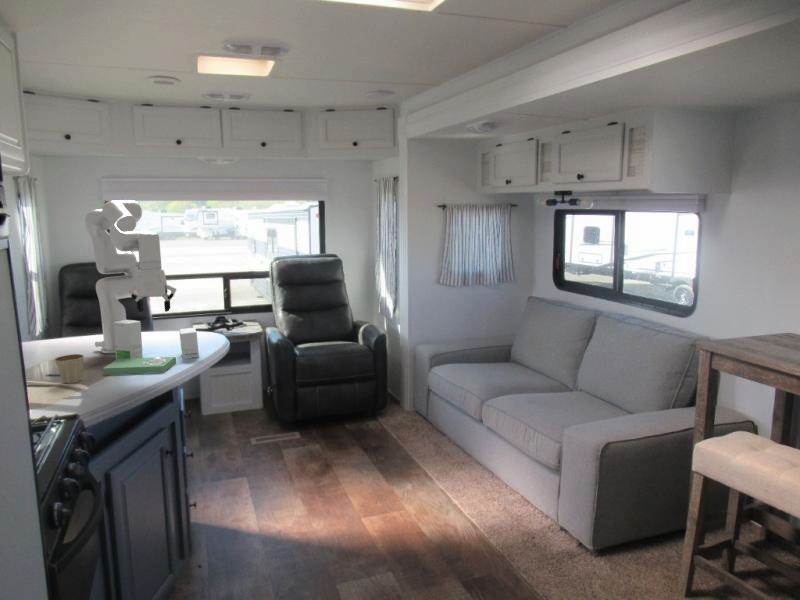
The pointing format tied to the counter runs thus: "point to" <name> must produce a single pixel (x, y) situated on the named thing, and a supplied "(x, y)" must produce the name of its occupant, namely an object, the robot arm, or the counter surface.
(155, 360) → the ball
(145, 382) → the counter surface
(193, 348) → the skincare box
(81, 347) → the counter surface
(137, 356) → the skincare box
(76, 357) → the flower pot
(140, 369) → the putting mat
